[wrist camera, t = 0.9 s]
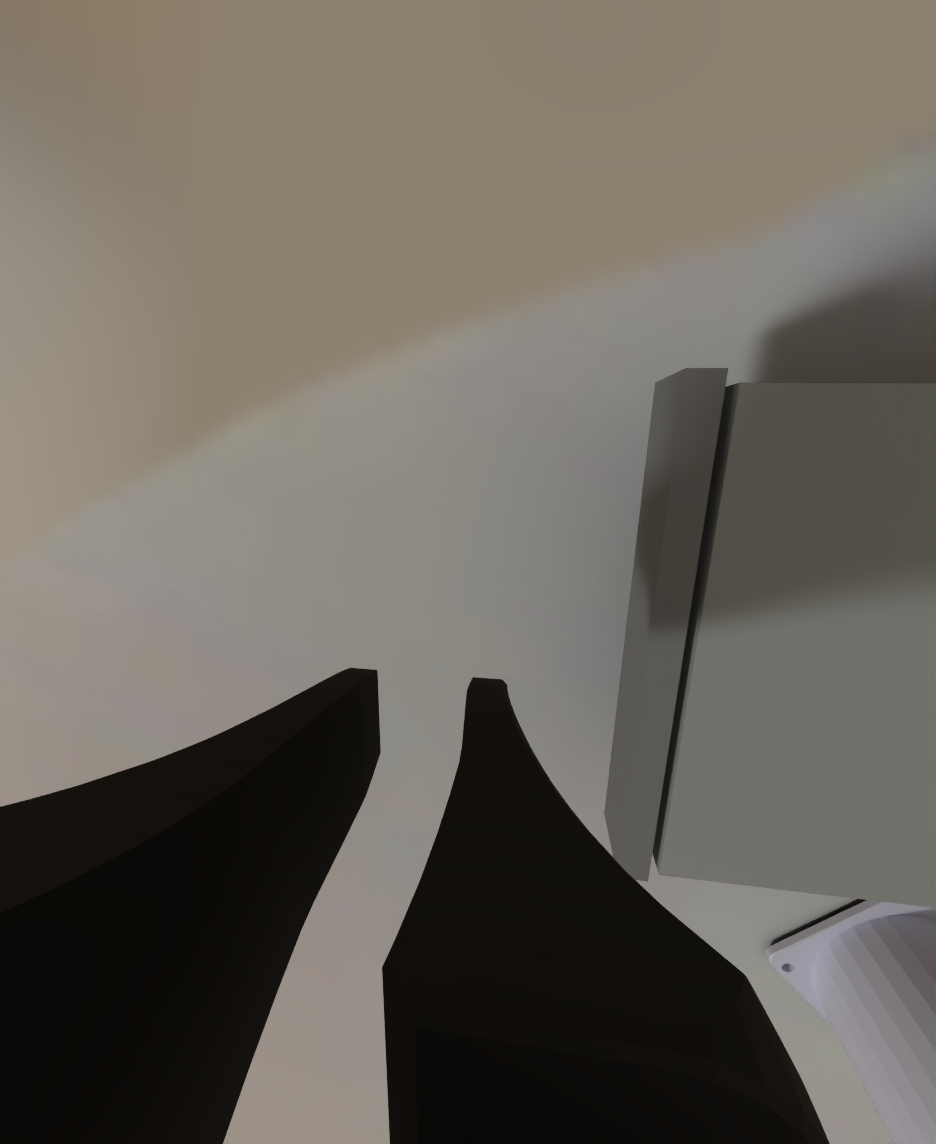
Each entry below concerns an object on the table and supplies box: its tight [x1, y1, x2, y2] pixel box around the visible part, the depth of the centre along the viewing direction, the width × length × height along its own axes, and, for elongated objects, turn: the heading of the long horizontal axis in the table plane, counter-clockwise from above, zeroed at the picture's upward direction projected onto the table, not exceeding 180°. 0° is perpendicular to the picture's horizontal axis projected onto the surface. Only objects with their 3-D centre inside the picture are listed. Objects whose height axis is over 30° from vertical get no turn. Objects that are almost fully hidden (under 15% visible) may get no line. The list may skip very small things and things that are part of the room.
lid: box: [604, 368, 936, 908], centre depth 13 cm, size 13×15×3 cm
